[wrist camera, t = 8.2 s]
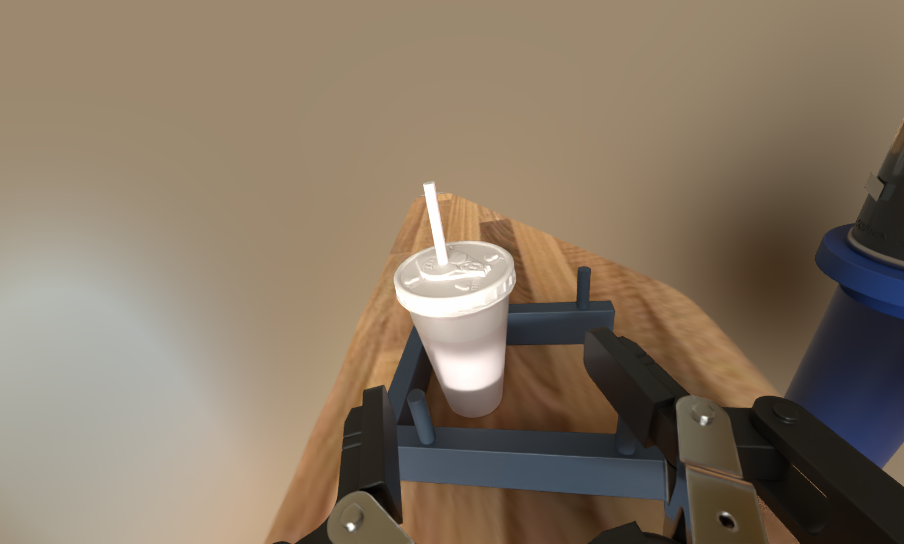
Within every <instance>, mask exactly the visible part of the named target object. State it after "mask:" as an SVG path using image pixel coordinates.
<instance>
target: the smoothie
mask: <svg viewBox="0 0 904 544" xmlns="http://www.w3.org/2000/svg"><path fill="white" fill-rule="evenodd" d="M423 186H424V192H425V197H426V202H427V207H428V212H429V218H430V223H431V228H432V233H433V238H434V244H435V246H432V247H429V248H426V249H424V250H421V251H419V252H417V253H415V254H413V255H412V256H410V257H409V258H407V259H406V260H405V261H404V262H403V263H402V264H401V265H400V266H399V267H398V269H397V270H396V272H395V274H394V284H395V288H396V296H397V298H398V300H399V302H400V304H401V305H402V306H403V307H405V308H406V309H407V310H408V311H409V312H410V315H411V317H412V320H413V322H414V325H415V327H416V329H417V331H418V334H419V336H420V338H421V341H422V343H423V345H424V348H425V350H426V353H427V355H428V357H429V360H430V362H431V364H432V367H433V369H434V371H435V374H436V376H437V378H438V381H439V383H440V386H441V388H442V390H443V393H444V395H445V397H446V400H447V402H448V404H449V406H450V408H451V409H452V410H453V411H454V412H455V413H457V414H458V415H461V416H463V417H468V418H478V417H482V416H485V415H488V414H490V413H491V412H493V411H494V410H495V409H496V408H497V407H498V406H499V404H500V402H501V400H502V396H503V380H504V365H505V350H506V334H507V319H508V307H509V293H510V292H511V291H512V289H513V287H514V285H515V283H516V272H515V271H514V260H513V258H512V256H511V254H510V253H509V252H508V251H506V250H505V249H504V248H502V247H500V246H497V245H495V244H492V243H488V242H482V241H455V242H448V243H445V238H444V232H443V227H442V221H441V215H440V209H439V204H438V198H437V192H436V187H435V182H434V181H433V182H432V181H431V182H426V183H423Z"/></svg>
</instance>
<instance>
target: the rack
mask: <svg viewBox="0 0 904 544" xmlns="http://www.w3.org/2000/svg"><path fill="white" fill-rule="evenodd" d="M590 275H591V269H590V268H589V267H585V266H583V267H579V268H578V276H577V302H558V303H529V304H509V307H508V319H507V334H506V345H532V344H584V340H585V333H586V332H587V331H590V330H594V329H598V328H601V327H607V328H608V329H610V330H611V331H612V332H613V325H614V315H615V310H614V307H613V305H612V303H611V301H589V292H590ZM432 368H433V367H432V364H431V362H430V360H429V357H428V355H427V353H426V350H425V348H424V345H423V343H422V341H421V338H420V336H419V334H418V331H417V329H416V327H415V325H414V326H413V328H412V331H411V334H410V336H409V339H408V341H407V344H406V347H405V349H404V352H403V354H402V357H401V360H400V362H399V365H398V367H397V370H396V373H395V375H394V378H393V380H392V383H391V386H390V388H389V391H388V393H387V394H388V397H389V399H390V402H391V405H392V408H393V411H394V414H395V419H396V425H397V438H398V454H399V470H400V480H405V481H418V482H431V483H445V484H458V485H471V486H484V487H498V488H511V489H524V490H537V491H551V492H564V493H577V494H590V495H604V496H617V497H630V498H643V499H657V500H664V481H663V453H662V452H661V451H660V450H659V448H658V447H657V446H656V445H655V446H652V447H649V448H645V449H644V447H643V446H642V445H641V443H640V442H639V441H638V439H637V438H636V437H635V436H634V434H633V433H632V432H631V430H630V429H629V428H628V426H627V425H626V424H625V422H624V421H623V420H622V418H621V417H620V416H618V424H617V431H616V434H604V433H579V432H554V431H530V430H505V429H480V428H456V427H433V423H432V420H431V416H430V413H429V409H428V405H427V402H426V398H425V395H426V391H427V387H428V383H429V379H430V376H431V372H432Z"/></svg>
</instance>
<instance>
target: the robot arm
mask: <svg viewBox="0 0 904 544" xmlns="http://www.w3.org/2000/svg"><path fill="white" fill-rule="evenodd" d="M864 188H865V189H866V190H867V191H868V192H869V194H868V196H867V198H866V200H865V203H864V205H863V207H862V209H861V212H860V214H859V216H858V218H857V221H856V223H855V225H854V227H852V228H851V229H850V231H849V233H848V235H847V237H846V243H847V245H848V246H849V247H850V248H851V249H852V250H853V251H855V252H856V253H858V254H859V255H861V256H863V257H865V258H867V259H869V260H872V261H874V262H877V263H879V264H882V265H885V266H888V267H891V268H894V269H897V270H901V271H904V119H903V120H902V123H901V125H900V127H899V129H898V131H897V133H896V136H895V138H894V140H893V142H892V144H891V147H890V149H889V151H888V153H887V155H886V157H885V160H884V162H883V164H882V166H881V168H880V170H879V172H878V175H877V177H875V176H874V175H873V174H872V173H870V176H869V178H868V180H867V182H866V184H865V187H864ZM583 360H584V366H585V369H586V371H587V373H588V375H589V376H590V377H591V379H592V380H593V381H594V383H595V384H596V385H597V387H598V388H599V389H600V391H601V392H602V393H603V395H604V396H605V397H606V399H607V400H608V401H609V402H610V404H611V405H612V406H613V408H614V409H615V410H616V412H617V413H618V414H619V416H620V417H621V418H622V420H623V421H624V422H625V424H626V425H627V426H628V428H629V429H630V430H631V432H632V433H633V434H634V436H635V437H636V438H637V439H638V441H639V442H640V443H641V445H642V446H643V447H644V449H645V448H649V447H652V446H655V445H656V446H657V447H658V448H659V450H660V451H661V452H662V453H663V481H664V506H665V514H664V524H663V536H662V535H659V534H655V533H649V532H642V531H641V530H640V528H639V526H638V525H637V523H636V521H634V522H631V523H628V524H625V525H622V526H619V527H615V528H612V529H609V530H606V531H603V532H602V533H601V534H599V535H598V536H597V537H596V538H594V539H593V540H592V541H590V542H589V543H588V544H769V542H768V538H767V534H766V530H765V526H764V522H763V518H762V514H761V510H760V506H759V502H758V498H757V495H758V496H759V497H760V498H761V499H762V500H763V502H764V503H765V504H766V505H767V506H768V507H769V508H770V509H771V511H772V512H773V513H774V514H775V515H776V516H777V517H778V519H779V520H780V521H781V522H782V523H783V524H784V525H785V526H786V528H787V529H788V530H789V531H790V532H791V533H792V534H793V535H794V537H795V538H796V539H797V540H798V541H799V542H800V543H801V544H904V487H903V486H902V485H901V484H899V483H898V482H897V481H896V480H894V479H893V478H892V477H891V476H889V475H888V474H887V473H885V472H884V471H883V470H882V469H880V468H879V467H878V466H877V465H875V464H874V463H873V462H872V461H870V460H869V459H868V458H866V457H865V456H864V455H863V454H861V453H860V452H859V451H858V450H856V449H855V448H854V447H852V446H851V445H850V444H849V443H847V442H846V441H845V440H844V439H842V438H841V437H840V436H838V435H837V434H836V433H835V432H833V431H832V430H831V429H830V428H828V427H827V426H826V425H825V424H823V423H822V422H821V421H819V420H818V419H817V418H816V417H814V416H813V415H812V414H811V413H809V412H808V411H807V410H805V409H804V408H803V407H801V406H800V405H798V404H796V403H794V402H792V401H790V400H787V399H784V398H781V397H776V396H762V397H759V398H758V399H756V400H755V402H754V404H753V407H752V408H729V407H721V406H719V405H718V404H717V403H715V402H713V401H711V400H709V399H707V398H704V397H701V396H694V395H690V394H689V393H688V392H686V391H685V390H684V389H683V388H682V387H681V386H680V385H679V384H678V383H677V382H676V381H675V380H674V379H673V378H672V377H671V376H670V375H669V374H668V373H667V372H666V371H665V370H664V369H663V368H661V367H660V366H659V365H658V364H657V363H655V361H654V360H653V359H652V358H651V357H650V356H649V355H647V354H646V352H645V351H644V350H643V349H642V348H641V347H640V346H639V345H637V344H636V343H635V342H633V341H631V340H629V339H627V338H625V337H623V336H621V337H616V336H615V335H614V334H613V332H612V331H611V330H610V329H608V328H607V327H601V328H598V329H594V330H590V331H587V332H586V333H585V340H584V358H583ZM343 437H344V439H343V445H342V449H343V451H342V455H341V466H340V476H339V486H338V496H337V500H336V504H335V506H334V508H333V510H332V512H331V513H330V515H329V517H328V518H327V519H326V520H325V522H324V523H323V524H322V525H321V526H319V527H318V528H317V529H316V530H314V531H313V532H311V533H310V534H308V535H307V536H305V537H304V538H302V539H301V540H299V541H298V542H296V543H295V544H416V543H415V542H414V541H413V540H412V539H411V538H410V537H409V536H408V535H407V534H406V533H405V532H404V531H403V530H402V528H401V527H400V526H399V524H402V523H403V518H402V502H401V486H400V470H399V454H398V438H397V425H396V419H395V414H394V411H393V408H392V405H391V402H390V399H389V397H388V394H387V391H386V388H385V386H384V385H381V386H377V387H373V388H370V389H366V390H364V391H363V404H362V406H359V407H356V408H352V409H351V411H350V413H349V415H348V417H347V419H346V421H345V424H344V434H343ZM794 466H795V467H796V468H797V469H798V470H799V471H800V472H801V473H802V474H803V475H804V476H806V477H807V478H808V479H809V480H810V481H811V482H812V483H813V484H814V485H815V486H816V487H817V488H818V489H819V490H820V491H821V492H822V493H823V494H824V495H825V496H826V497H827V498H828V499H829V500H828V499H827V498H826V497H825V496H824V495H823V494H822V493H821V492H820V491H819V490H818V489H817V488H816V487H815V486H814V485H813V484H812V483H811V482H810V481H809V480H807V479H806V478H805V477H804V476H803V475H802V474H801V473H800V472H799V471H798V470H797V469H796V468H795V467H794ZM273 544H290V543H288V542H284V541H281V542H276V543H273Z"/></svg>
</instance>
